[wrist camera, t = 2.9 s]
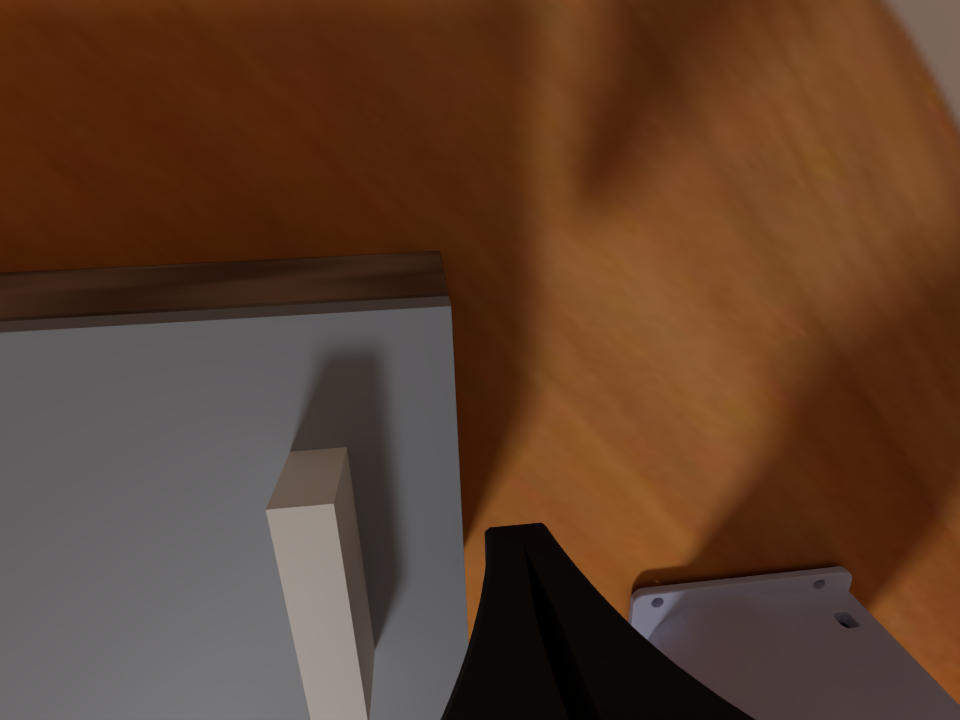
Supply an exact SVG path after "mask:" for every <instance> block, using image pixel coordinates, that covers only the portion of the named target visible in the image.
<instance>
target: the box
mask: <svg viewBox="0 0 960 720" xmlns="http://www.w3.org/2000/svg"><path fill="white" fill-rule="evenodd" d="M438 296H448V289H447V285H446V280H445V276H444V271H443V266H442V262H441V257H440V253H439V251H435V252H415V253H395V254H375V255H354V256H334V257H314V258H294V259H274V260H254V261H233V262H213V263H193V264H173V265H153V266H132V267H112V268H92V269H72V270H52V271H32V272H11V273H0V322H1V321H18V320H36V319H53V318H71V317H88V316H106V315H123V314H141V313H158V312H176V311H193V310H211V309H228V308H246V307H263V306H281V305H298V304H316V303H333V302H351V301H368V300H386V299H403V298H421V297H438Z"/></svg>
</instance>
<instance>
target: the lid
mask: <svg viewBox="0 0 960 720" xmlns="http://www.w3.org/2000/svg"><path fill="white" fill-rule="evenodd" d="M467 649H468V625H467V606H466V586H465V567H464V547H463V528H462V508H461V489H460V469H459V450H458V430H457V411H456V391H455V372H454V352H453V333H452V313H451V303H450V299H449V296H438V297H421V298H403V299H386V300H368V301H351V302H333V303H316V304H298V305H281V306H263V307H246V308H228V309H211V310H193V311H176V312H158V313H141V314H123V315H106V316H88V317H71V318H53V319H36V320H18V321H1V322H0V720H440V719H441V717H442V715H443V713H444V710H445V708H446V706H447V703H448V701H449V698H450V696H451V693H452V691H453V688H454V685H455V683H456V680H457V678H458V675H459V672H460V670H461V667H462V664H463V661H464V658H465V655H466V652H467Z"/></svg>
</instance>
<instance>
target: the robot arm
mask: <svg viewBox="0 0 960 720" xmlns="http://www.w3.org/2000/svg"><path fill="white" fill-rule="evenodd" d="M485 557H486V568H485V576H484V582H483V588H482V594H481V599H480V604H479V608H478V612H477V616H476V620H475V624H474V628H473V632H472V635H471V639H470V642H469V645H468V649H467V652H466V655H465V658H464V661H463V664H462V667H461V670H460V672H459V675H458V678H457V680H456V683H455V685H454V688H453V691H452V693H451V696H450V698H449V701H448V703H447V706H446V708H445V710H444V713H443V715H442V717H441V719H440V720H960V705H959V704H958V703H957V702H956V701H955V700H954V699H953V698H952V697H951V696H950V695H949V694H948V693H947V692H946V691H945V690H944V689H943V688H942V687H941V686H940V685H939V684H938V683H937V682H936V680H935V679H934V678H933V677H932V676H931V675H930V674H929V673H928V672H927V671H926V670H925V669H924V668H923V667H922V666H921V665H920V664H919V663H918V662H917V661H916V660H915V659H914V658H913V657H912V656H911V655H910V654H909V653H908V652H907V651H906V650H905V649H904V648H903V647H902V646H901V644H900V643H899V642H898V641H897V640H896V639H895V638H894V637H893V636H892V635H891V634H890V633H889V632H888V631H887V630H886V629H885V628H884V627H883V626H882V625H881V624H880V623H879V622H878V621H877V620H876V619H875V618H874V617H873V616H872V615H871V614H870V613H869V612H868V611H867V610H866V608H865V607H864V606H863V605H862V604H861V603H860V602H859V601H858V600H857V599H856V598H855V597H854V596H853V595H852V594H851V593H850V592H849V589H850V585H851V582H852V575H851V574H850V573H849V572H848V571H847V570H846V569H845V568H844V567H829V568H820V569H811V570H802V571H793V572H784V573H774V574H765V575H756V576H747V577H738V578H729V579H720V580H710V581H701V582H692V583H683V584H674V585H665V586H655V587H646V588H640V589H638V590H636V591H635V592H634V593H633V594H632V596H631V600H630V610H629V621H628V622H627V621H626V620H625V619H624V618H623V617H622V616H621V615H620V614H619V613H618V612H617V611H616V610H615V609H614V608H613V607H612V606H611V605H610V604H609V602H608V601H607V600H606V599H605V598H604V597H603V596H602V595H601V594H600V593H599V592H598V591H597V590H596V588H595V587H594V586H593V585H592V584H591V583H590V582H589V580H588V579H587V578H586V577H585V576H584V575H583V574H582V572H581V571H580V570H579V569H578V568H577V566H576V565H575V564H574V563H573V562H572V560H571V559H570V558H569V557H568V555H567V554H566V553H565V552H564V550H563V549H562V548H561V546H560V545H559V544H558V542H557V541H556V540H555V538H554V537H553V535H552V534H551V533H550V531H549V530H548V528H547V527H546V526H545V525H544V524H543V523H533V524H522V525H512V526H501V527H490V528H489V529H488V530H486V531H485ZM655 598H657V599H655ZM654 599H655V600H654Z"/></svg>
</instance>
